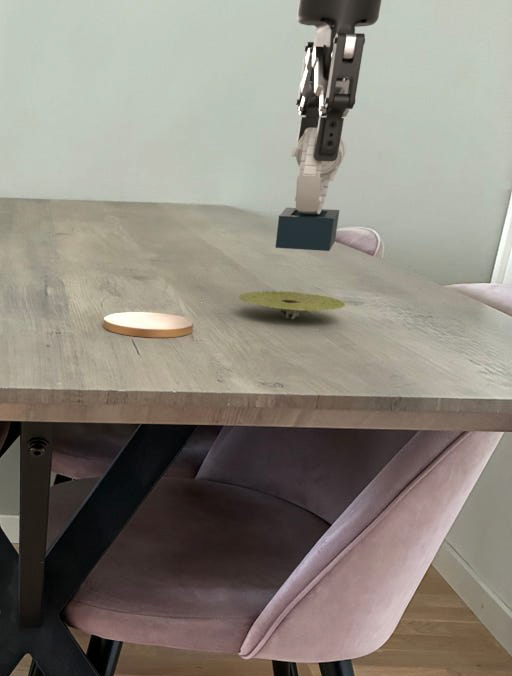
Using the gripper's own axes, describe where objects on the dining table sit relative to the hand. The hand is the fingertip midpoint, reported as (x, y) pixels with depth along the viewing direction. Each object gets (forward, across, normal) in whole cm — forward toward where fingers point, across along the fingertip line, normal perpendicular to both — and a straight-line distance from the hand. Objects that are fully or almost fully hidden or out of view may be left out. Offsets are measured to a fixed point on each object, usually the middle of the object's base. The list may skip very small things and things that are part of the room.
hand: (314, 159), depth 96 cm
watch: (+8, +1, -1) cm, 8 cm away
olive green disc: (+16, 0, 0) cm, 16 cm away
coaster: (+15, -9, +16) cm, 24 cm away
